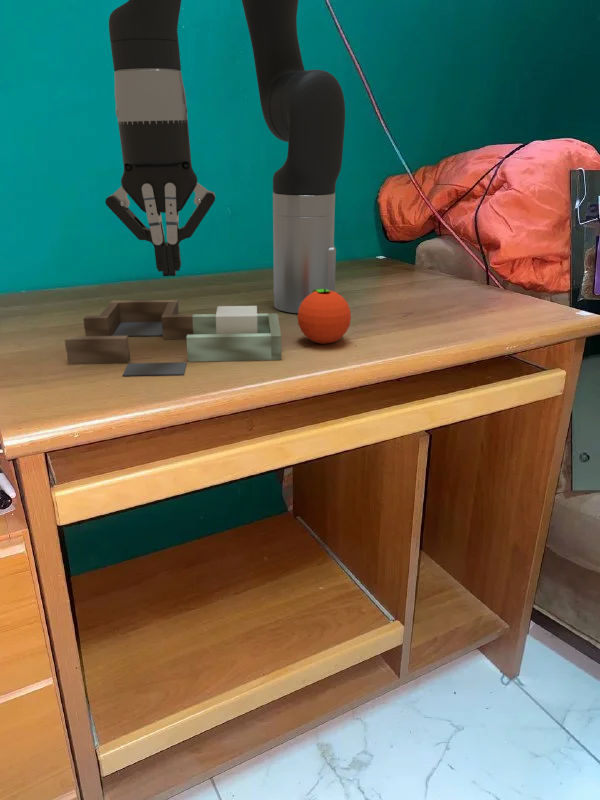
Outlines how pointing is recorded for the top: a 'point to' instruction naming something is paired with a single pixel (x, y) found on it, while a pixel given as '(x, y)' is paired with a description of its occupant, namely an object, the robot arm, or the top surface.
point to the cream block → (236, 320)
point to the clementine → (324, 316)
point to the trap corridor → (168, 337)
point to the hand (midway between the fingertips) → (169, 274)
